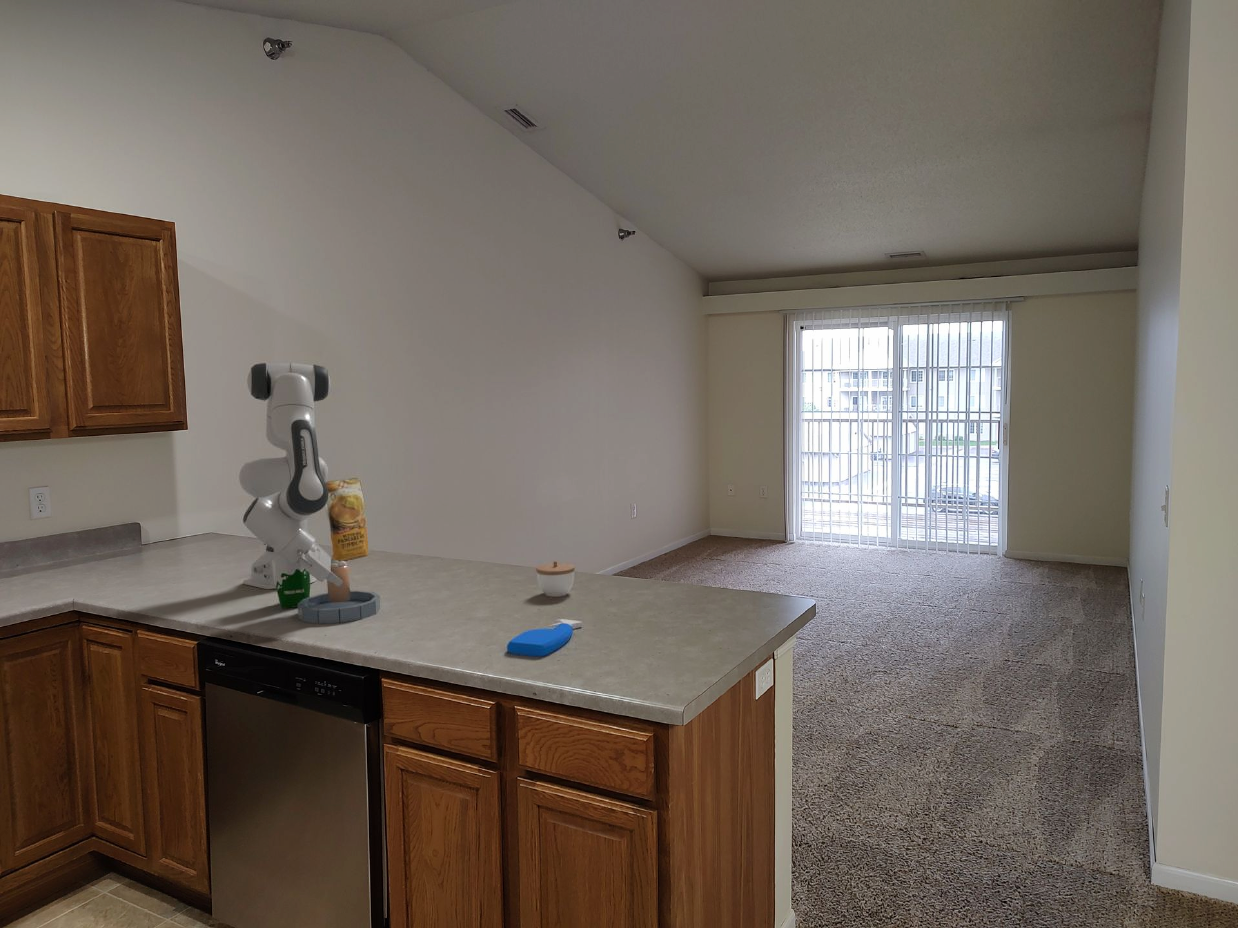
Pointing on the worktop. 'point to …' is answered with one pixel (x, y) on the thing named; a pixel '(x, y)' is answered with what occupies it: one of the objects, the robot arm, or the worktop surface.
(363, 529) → the pancake mix bag
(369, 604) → the slate bowl
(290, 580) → the milk carton
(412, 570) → the worktop surface
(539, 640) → the spray bottle
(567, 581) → the lidded jar
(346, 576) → the pebble cup
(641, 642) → the worktop surface
